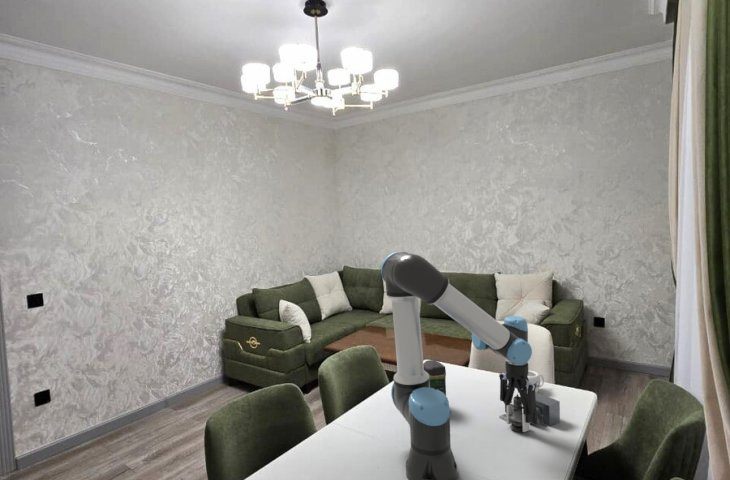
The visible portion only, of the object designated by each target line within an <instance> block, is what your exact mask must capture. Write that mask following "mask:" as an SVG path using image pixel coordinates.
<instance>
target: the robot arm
mask: <svg viewBox="0 0 730 480" xmlns="http://www.w3.org/2000/svg"><path fill="white" fill-rule="evenodd" d="M380 275H381V277H382V280H383V281H384V282H385V292H386V296H387V297H388V299H390V300H391V309H392V320H393V329H394V330H393V331H394V343H395V355H396V365H397V367H396V368H397V372H396V373H394V375H393V383H392V386H391V390H390V392H391V393H390V395H391V399H392V403H393V404H394V406H395V408H396V409H397V410H398V411H399V413H400V414H401V416H402V417H403V418H404V419H405V421H406V422H407V423H408V425H409V431H410V432H409V433H410V435H409V436H410V449H409V452H408V457H407V458H406V462H405V475H406V477H407V479H408V480H458V474H459V473H458V465H457V462H456V459H455V456H454V454H453V451H452V448H451V418H450V417H451V408H450V402H449V398H448V397H447V394H446V395H445V394H444V393H442V392H441V391H439V390H435V389H434V388H430V380H429V374H428V373H427V372H426V371H424V354H423V341H422V329H421V319H420V318H421V317H420V305H419V304H420V303H419V299H420V300H421V301H423V302H425V303H426V304H427V305H429V306H431V305H434V306H435V307H437V308H438V309H439V310H441V311H442V312H443V313H445V314H446V315H448V316H449V317H450V318H451V319H452V320H454V321H455V322H457V323H458V324H459V325H461V326H462V327H463V328H465V329H466V330H468V331H469V332H470V333H471V341H472V345H473V346H474V348H475V349H476V350H478V351H482V350H483V351H486V350H489V351H491V352H493V353H495V354H497V355H500V356H501V357H503V358H504V360H505V362H504V363H505V364H504V365H505V367H504V368H505V372H502V373H500V374H499V375H498V377H499V380H500V382H499V383H500V384H499V386H500V387H499V401H500V402H503V404H504V412H505V414H506V413H507V421H506V424H507V425H511V421H510V418H509V416H510V415H511V414H513V407H512V406H513V398H514V393H515V389H516V390H517V392H518V393H517V394H518V395H519V397H521V401H522V406H523V409H524V412H523V411H522V425H523V431H522V432H523V433H526V432H528V431H530V423H531V414H533V413H535V412H536V397H535V389H536V384H532V383H530V382H529V380H528V377H527V376H528V370H529V363H528V362H529V361H530V360H531V357H532V354H533V350H532V346H531V344H530V343H529V339H528V337H529V330H528V329H529V327H528V321H527V319H526V318H525V317H523V316H517V315H516V316H515V315H510V316H506V317H504V319H503V320H504V321H503V323H502V324H501V322H499V321H497V319H495V318H494V317H492V316H491V315H490V314H488V313H487V312H486V311H485V310H484V309H482V307H480V306H478V305H477V304H476V303H475V302H474V301H472V300H471V299H469V298H468V297H467V296H466V295H465V294H463V293H462V292H461V291H460V290H458V289H457V288H455V287H454V286H453V285H452V284H450V279H449V278H448V277H447V276H446V275H445V274H443V273H442V272H441V271H440V270H439V269H437V267H435V266H434V265H433V264H432V263H430V261H428V260H427V259H425V257H422V255H418V254H416V253H410V252H408V251H407V252H406V251H396V252H393V253H390V254H389V255H387V256H386V257H385V258H384V260H383V261H382V263H381V266H380ZM526 385H527V386H526ZM527 389H528V391H527ZM523 409H522V410H523Z"/></svg>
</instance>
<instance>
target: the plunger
mask: <svg viewBox="0 0 730 480" xmlns="http://www.w3.org/2000/svg"><path fill="white" fill-rule="evenodd" d="M523 412H524V409H522V413H523ZM540 416H542V407H541V406H538V405H536V412H535V413H533V414H531V422H530V423H531V424H533V425H534V426H536V425H538V422H539V421H538V417H540Z"/></svg>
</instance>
